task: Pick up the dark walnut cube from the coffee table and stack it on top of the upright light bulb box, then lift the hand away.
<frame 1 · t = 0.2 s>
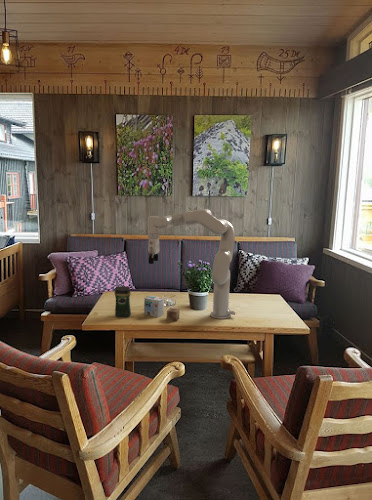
hand: (153, 262, 259), 31 cm above the table, fingers open, 9 cm apart
coffee jar: (122, 316, 249), on the table
walnut cube: (173, 319, 244), on the table
light bulb box: (153, 314, 253), on the table
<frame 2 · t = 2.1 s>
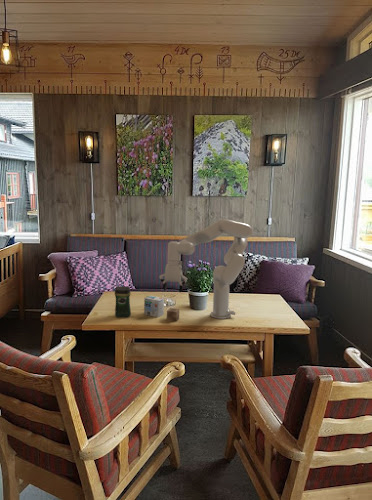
hand: (172, 290, 241), 18 cm above the table, fingers open, 9 cm apart
nothing on the table moved.
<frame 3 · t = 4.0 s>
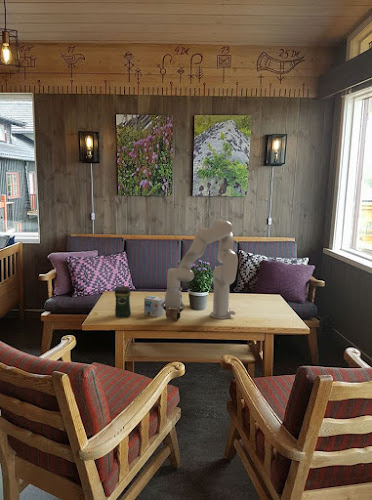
hand: (173, 317, 244), 1 cm above the table, fingers closed on walnut cube, 6 cm apart
walnut cube: (173, 319, 244), on the table, touching gripper
everything else where it was.
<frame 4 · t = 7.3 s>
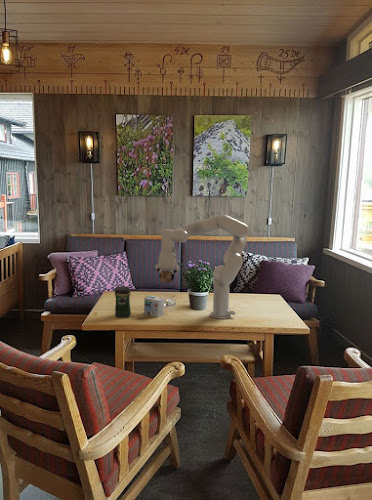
hand: (166, 279, 243), 24 cm above the table, fingers closed on walnut cube, 6 cm apart
walnut cube: (166, 281, 243), point 23 cm above the table, touching gripper
everything else where it was.
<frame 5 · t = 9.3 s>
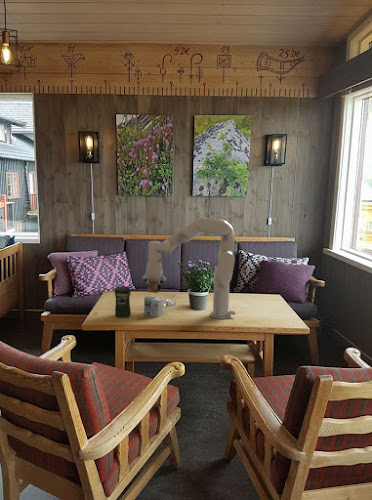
hand: (153, 289, 250), 16 cm above the table, fingers closed on walnut cube, 6 cm apart
walnut cube: (153, 291, 250), point 15 cm above the table, touching gripper
everything else where it was.
when the fingers open (13 cm above the table, at t = 10.7 s): walnut cube drops 2 cm, resting on light bulb box.
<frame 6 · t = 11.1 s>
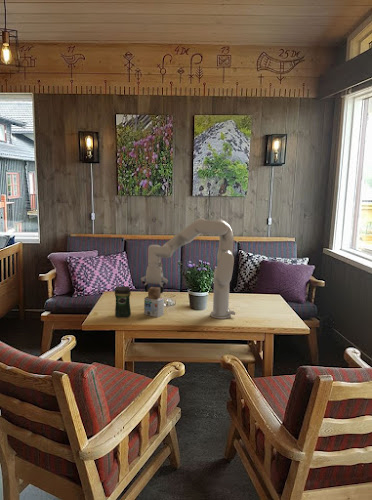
hand: (154, 292, 250), 14 cm above the table, fingers open, 9 cm apart
walnut cube: (154, 297, 251), point 11 cm above the table, touching light bulb box
light bulb box: (153, 314, 253), on the table, touching walnut cube
everything else where it was.
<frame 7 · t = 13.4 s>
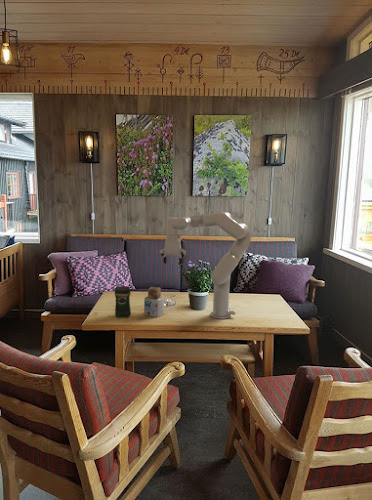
hand: (172, 263, 257), 30 cm above the table, fingers open, 9 cm apart
nothing on the table moved.
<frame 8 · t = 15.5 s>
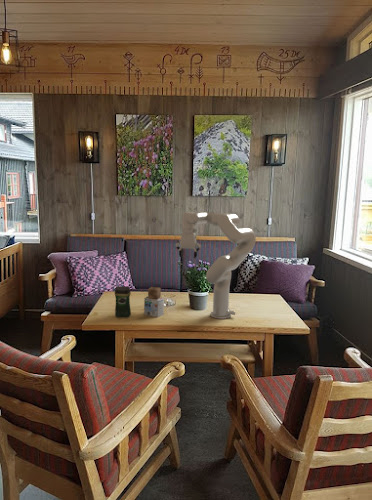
hand: (187, 257, 265), 33 cm above the table, fingers open, 9 cm apart
nothing on the table moved.
at the end: walnut cube inside the target area on the light bulb box (0.2 cm from its centre), point 11.0 cm above the light bulb box's base; walnut cube tilted 0°; the gripper is holding nothing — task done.
